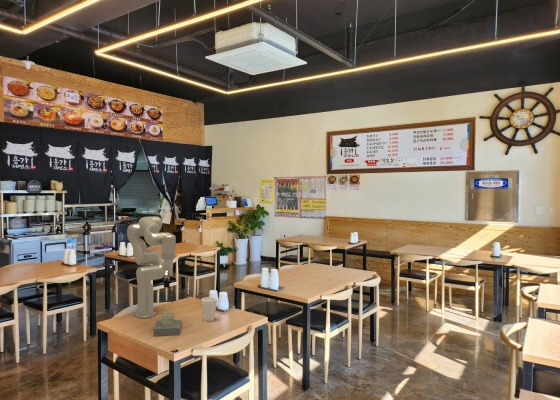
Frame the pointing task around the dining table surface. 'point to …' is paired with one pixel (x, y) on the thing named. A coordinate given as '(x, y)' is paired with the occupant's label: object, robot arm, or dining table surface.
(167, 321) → the cube
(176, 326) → the block
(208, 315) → the foam cup
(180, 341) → the dining table surface
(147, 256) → the robot arm
